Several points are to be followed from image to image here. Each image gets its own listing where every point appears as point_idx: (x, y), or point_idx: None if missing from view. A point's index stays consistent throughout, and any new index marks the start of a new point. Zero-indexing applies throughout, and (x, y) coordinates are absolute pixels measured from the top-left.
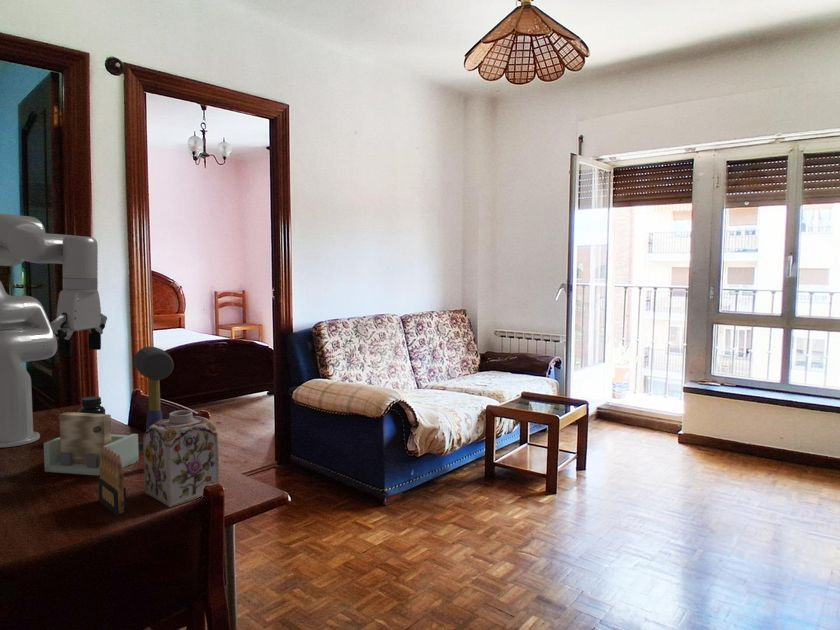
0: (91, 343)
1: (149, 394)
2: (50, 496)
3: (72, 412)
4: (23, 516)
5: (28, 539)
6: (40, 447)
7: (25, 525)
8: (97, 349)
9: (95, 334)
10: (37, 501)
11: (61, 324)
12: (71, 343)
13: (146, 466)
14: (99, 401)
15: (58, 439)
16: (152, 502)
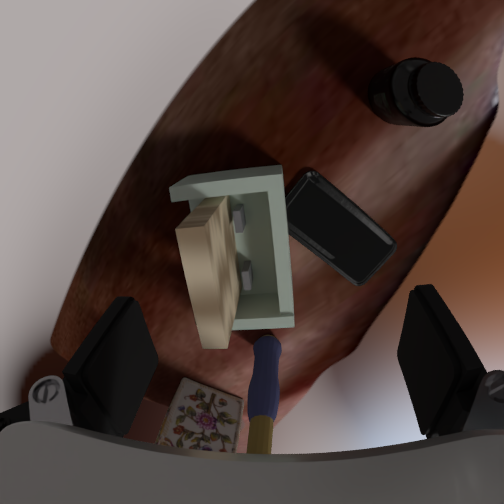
0: (419, 338)
1: (247, 447)
2: (123, 279)
3: (206, 245)
4: (80, 295)
5: (65, 336)
6: (308, 29)
7: (73, 314)
8: (398, 348)
9: (440, 422)
10: (107, 276)
11: (39, 471)
12: (129, 418)
13: (170, 408)
14: (441, 116)
15: (201, 195)
16: (170, 391)
